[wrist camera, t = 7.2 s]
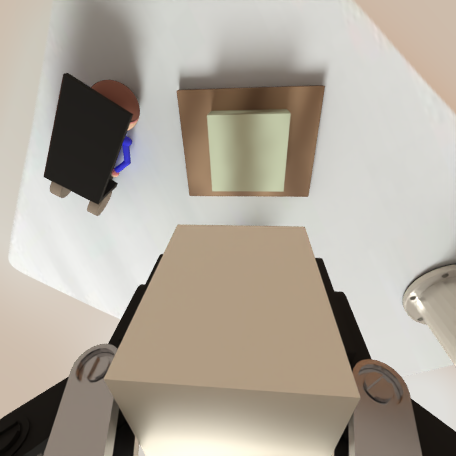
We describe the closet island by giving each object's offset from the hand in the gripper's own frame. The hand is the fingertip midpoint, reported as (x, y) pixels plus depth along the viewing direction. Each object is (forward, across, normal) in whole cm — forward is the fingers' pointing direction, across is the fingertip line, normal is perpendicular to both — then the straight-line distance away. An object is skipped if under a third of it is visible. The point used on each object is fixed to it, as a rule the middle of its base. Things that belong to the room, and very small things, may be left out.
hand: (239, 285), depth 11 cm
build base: (+23, 0, 0) cm, 23 cm away
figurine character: (+23, +17, 0) cm, 29 cm away
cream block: (+1, 0, 0) cm, 1 cm away
